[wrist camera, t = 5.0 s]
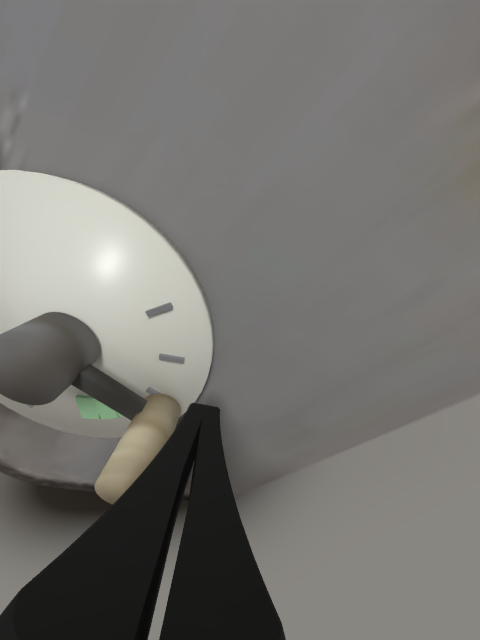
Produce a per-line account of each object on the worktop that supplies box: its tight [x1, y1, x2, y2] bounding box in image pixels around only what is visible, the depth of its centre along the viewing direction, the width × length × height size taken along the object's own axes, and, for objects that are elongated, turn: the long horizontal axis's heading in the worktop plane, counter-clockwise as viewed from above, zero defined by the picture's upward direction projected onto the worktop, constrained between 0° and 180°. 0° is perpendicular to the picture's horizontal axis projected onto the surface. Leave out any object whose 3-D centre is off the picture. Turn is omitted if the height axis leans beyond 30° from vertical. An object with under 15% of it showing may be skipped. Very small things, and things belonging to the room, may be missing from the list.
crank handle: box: [0, 312, 181, 504], centre depth 11 cm, size 10×4×5 cm, turn 47°
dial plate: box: [0, 170, 214, 438], centre depth 13 cm, size 16×16×1 cm
